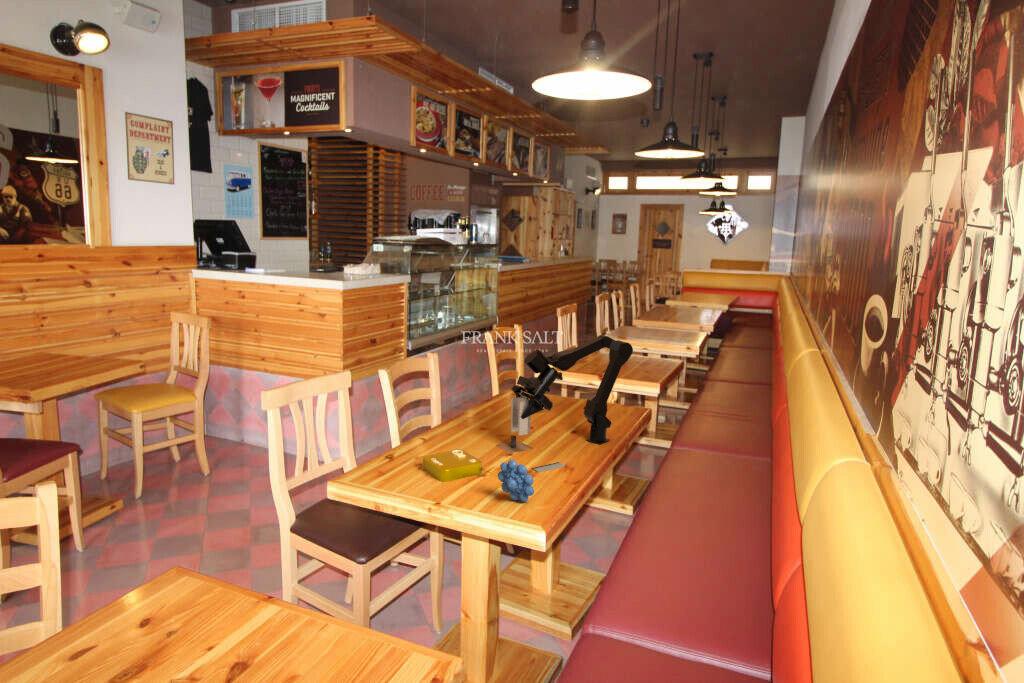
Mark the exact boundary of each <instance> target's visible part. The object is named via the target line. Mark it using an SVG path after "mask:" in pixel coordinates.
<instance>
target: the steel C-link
mask: <svg viewBox="0 0 1024 683" xmlns="http://www.w3.org/2000/svg"><path fill="white" fill-rule="evenodd" d="M510 399H511V400H510V409H511V410H510V432H511V433H514V432H517V435H518V436H523V435H529V434H530V433H531V416H529V417H527V418H525V419H522V418H521V416H522V415H523V413H524V411H525V410H526V408H527V407H528V405H529V403H530V399H526V398H524V397H516V396H515V397H511V398H510ZM530 435H531V434H530Z"/></svg>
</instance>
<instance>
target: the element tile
mask: <svg viewBox="0 0 1024 683" xmlns="http://www.w3.org/2000/svg"><path fill="white" fill-rule="evenodd" d="M482 464H483V463H482V460H481V459H479V458H477V457H475V456H474V455H472V454H470V453H468V452H467V451H465V450H462V449H459V448H458V449H451V450H449V451H448V450H447V451H443V452H442V451H441V452H438V453H433V454H429V455H424V456H423V457H422V470H423V471H424V472H426V473H427V474H429V475H430V476H431V477H433V478H435V479H436V480H438V481H439V482H441V483H449V482H453V481H457V480H462V479H466V478H471V477H474V476H478V475H481V474H483V473H482V471H483V470H482V469H483V468H482V467H483V466H482Z"/></svg>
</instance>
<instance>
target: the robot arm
mask: <svg viewBox="0 0 1024 683" xmlns="http://www.w3.org/2000/svg"><path fill="white" fill-rule="evenodd" d="M604 348H606V349H607V350H609V352H608V360H609V361H608V364H607V365H606V369H605V371H604V374H603V377H601V378H602V379H601V381H600V383H599V386H598V388H597V390H596V393H595V395H594V397H592V399H589V398H588V399H587V400H586V402H585V406H584V407H583V415H584V417H585V418H586V419H587V420H586V421H587V423H589V424H590V430H589V437H588V438H587V439H586V442H589V443H590V442H591V443H593V444H598V445H603V444H605V443H608V442H610V438H607V433H608V432H607V430H608V429H609V428H611V426H612V421H611V419H609V418H608V417H607V413H608V401H609V398H610V395H611V394H612V391H613V388H614V386H615V383H616V382H617V379H618V376H619V374H620V372H621V370H622V367H623V366H624V365H625V364H626V363H628V361H629V359H630V358H631V357H632V355H633V353H634V349H633V345H632V344H631V343H629V342H627V341H623V340H619V339H618V340H617V339H614V338H611V337H610V336H608V335H605V334H599V335H598V336H597V337H595V338H593V339H590V340H589V341H586V342H584V343H582V344H580V345H578V346H576V347H574V348H571V349H565V350H560V351H557V352H554V353H553V354H552V355H549V356H545V355H544V354H543V352H542V351H541V350H540V349H537V348H536V349H535V350H534V351H531V352H530V353H528V354H527V355H526V357H525V358H524V361H523V362H524V364H525V365H526V366H527V367H528V368H529V369H530V370H531V371H532V372H533V373H534V374H538V375H537V377H532V376H531V377H530V378H527V377H524V376H522V375H519V377H518V379H517V382H516V384H515V385H513V387H511V391H512V392H513V393H514V395H515V398H516V397H524V398H526V399H529V400H530V403H529V405H528V407H527V408H526V410H525V411H524V413H523V415H522V416H521V418H522V419H525V418H527V417H529V416H530V417H531V416H532V415H535V414H537V413H539V412H542V411H543V412H544V411H545V410H546V411H548V412H550V411H551V410H552V408H553V405H554V404H553V402H552V400H551V399H550V398H549V397H547V395H545V394H546V393H550V392H551V389H550V388H551V387H552V385H553V384H554V383H555V381H556V380H560V381H564V380H563V379H564V378H563V372H565V371H568V370H570V368H572V367H573V366H575V365H576V364H577V362H578V361H580V360H582V359H584V358H585V357H588V356H590V355H592V354H594V353H597V351H600V350H602V349H604ZM557 369H558V370H560V371H558V370H557ZM561 371H562V372H561Z"/></svg>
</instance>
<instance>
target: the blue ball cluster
mask: <svg viewBox="0 0 1024 683" xmlns="http://www.w3.org/2000/svg"><path fill="white" fill-rule="evenodd" d="M499 469H500V471H498V473H497V479H498V480H499V481H500V482H501V485H500V486H501V490H502V491H503V492H504V493H506V494H508V493H509V498H510V499H511V500H512V501H518V500H520V501H521V502H523V503H526V502H528V500H529V497H531V496H533V495H534V494H535V489H534V487H532V486H533V484H534V477H533V476H532V475H531V474H529V473H528V467H527V466H526V465H525V464H523V463H520V464H518V463H517V461H516V460H514V459H509V461H507V462H502V463H500V466H499Z"/></svg>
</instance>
